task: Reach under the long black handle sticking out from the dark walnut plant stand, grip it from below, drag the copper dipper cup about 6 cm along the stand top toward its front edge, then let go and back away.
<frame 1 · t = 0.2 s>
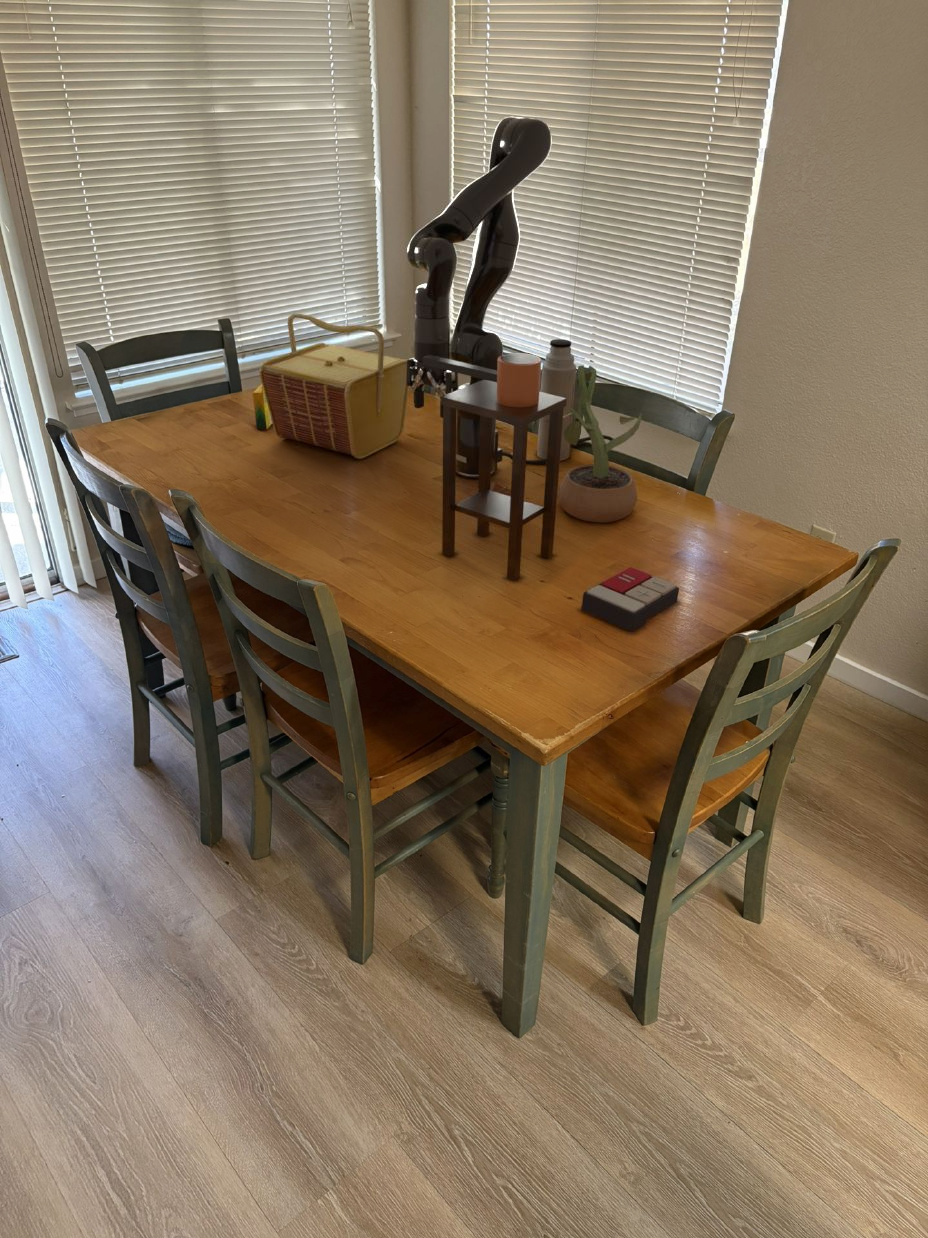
hand: (431, 412, 204), 18 cm above the table, tool pointing down, fingers open, 8 cm apart
fruit slice: (504, 508, 204), on the table
potted plant: (587, 505, 206), on the table
crayon box: (266, 425, 246), on the table
calculator: (629, 607, 169), on the table
plant stand: (497, 555, 185), on the table
thermos bottle: (553, 455, 231), on the table
picnic basket: (340, 441, 237), on the table
dipper cup: (517, 400, 167), point 32 cm above the table, touching plant stand
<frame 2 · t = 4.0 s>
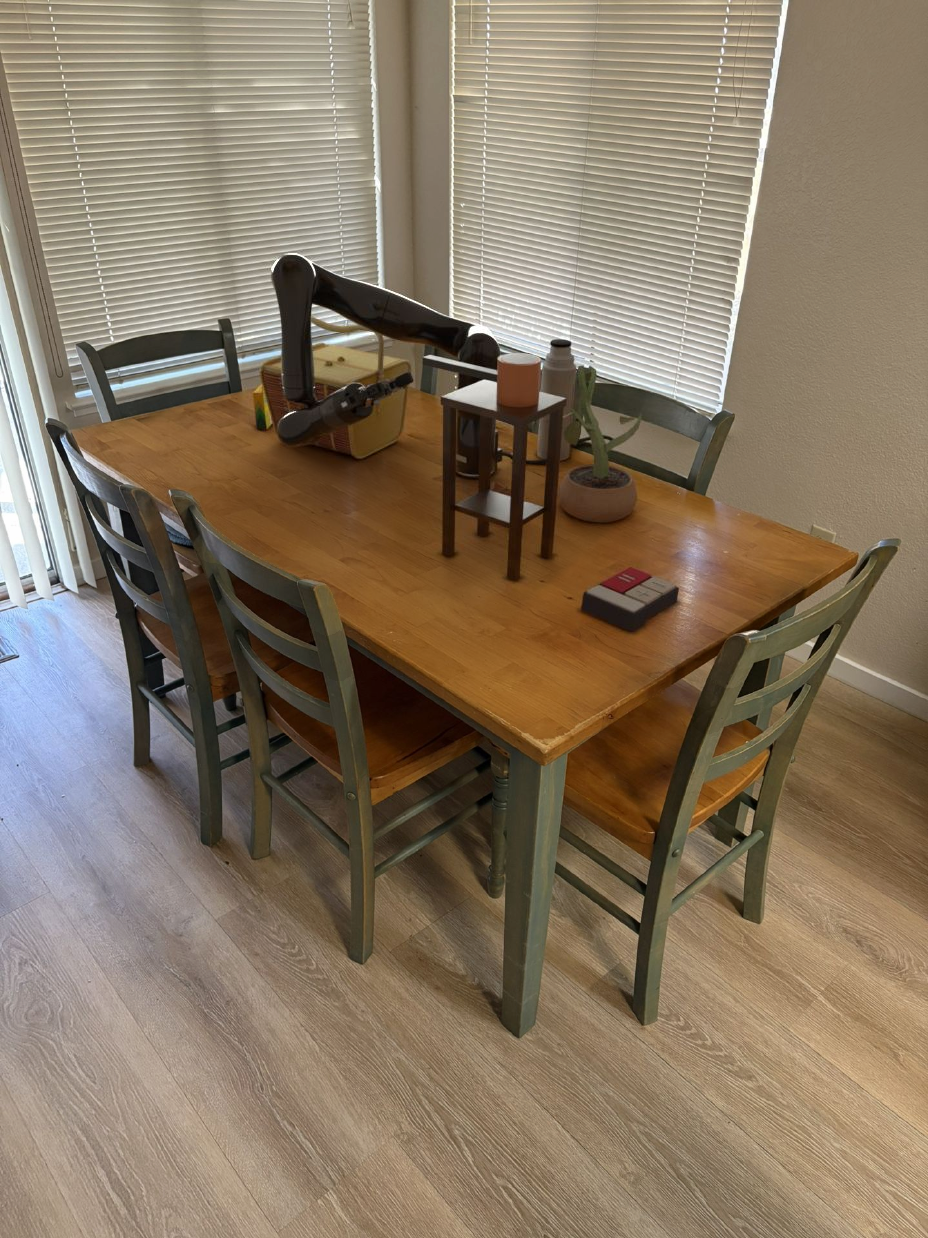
hand: (396, 381, 182), 30 cm above the table, tool pointing upward, fingers open, 8 cm apart
nothing on the table moved.
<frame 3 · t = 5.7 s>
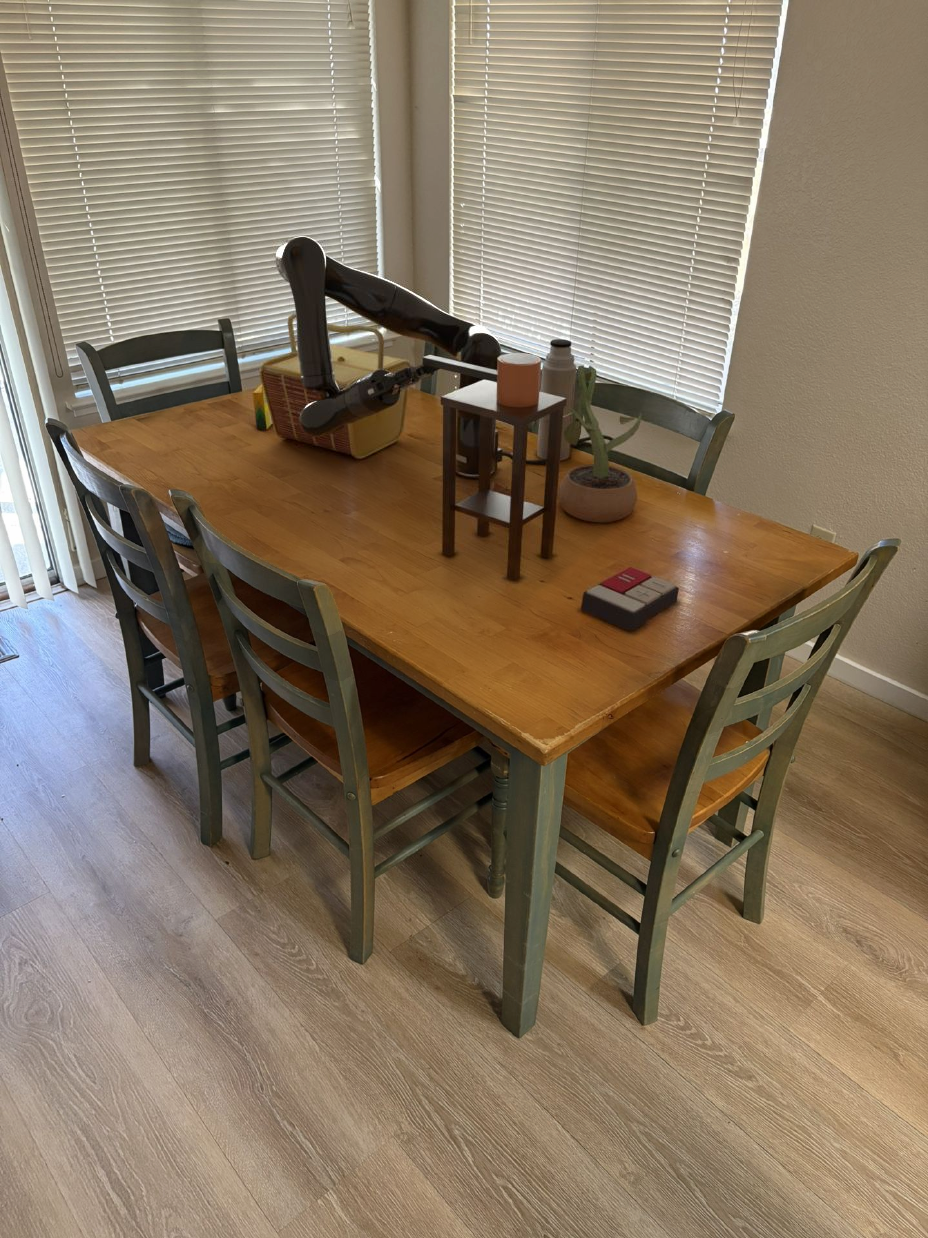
hand: (425, 367, 176), 34 cm above the table, tool pointing upward, fingers open, 8 cm apart
nothing on the table moved.
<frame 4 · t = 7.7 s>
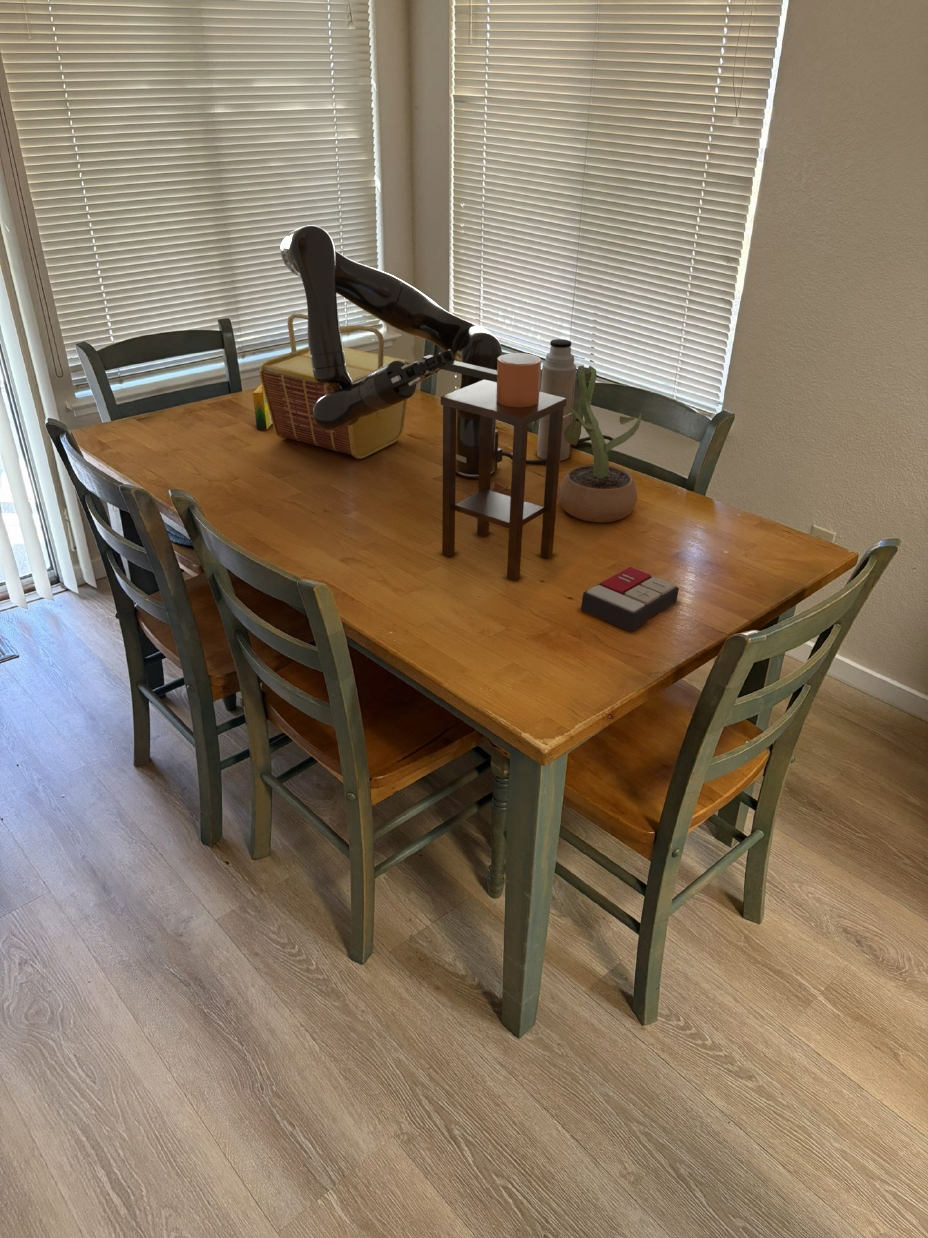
hand: (447, 356, 172), 37 cm above the table, tool pointing upward, fingers closed on dipper cup
dipper cup: (517, 400, 167), point 32 cm above the table, touching gripper, plant stand
everything else where it was.
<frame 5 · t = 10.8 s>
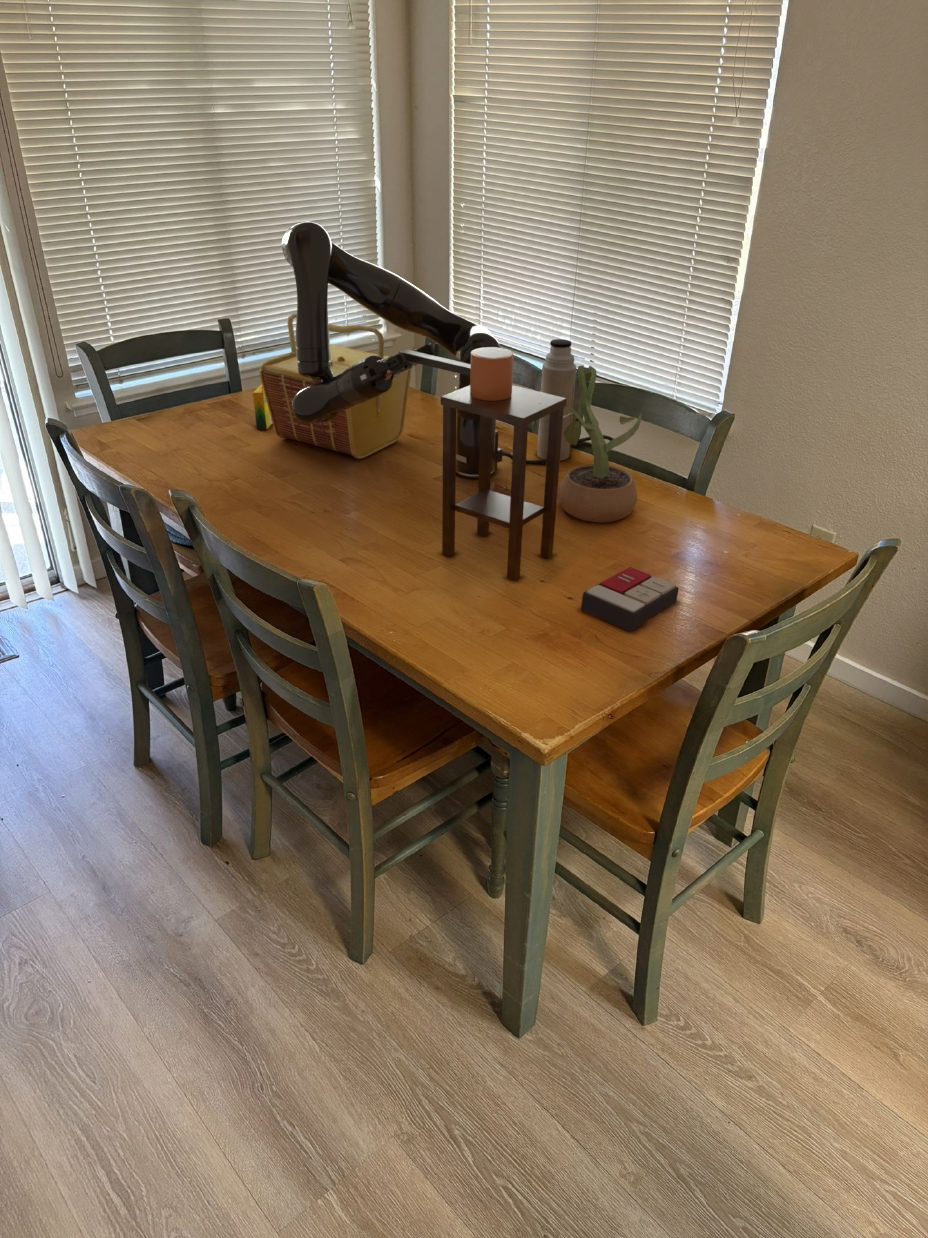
hand: (418, 352, 176), 36 cm above the table, tool pointing upward, fingers open, 8 cm apart
dipper cup: (490, 394, 170), point 32 cm above the table, touching plant stand
everything else where it was.
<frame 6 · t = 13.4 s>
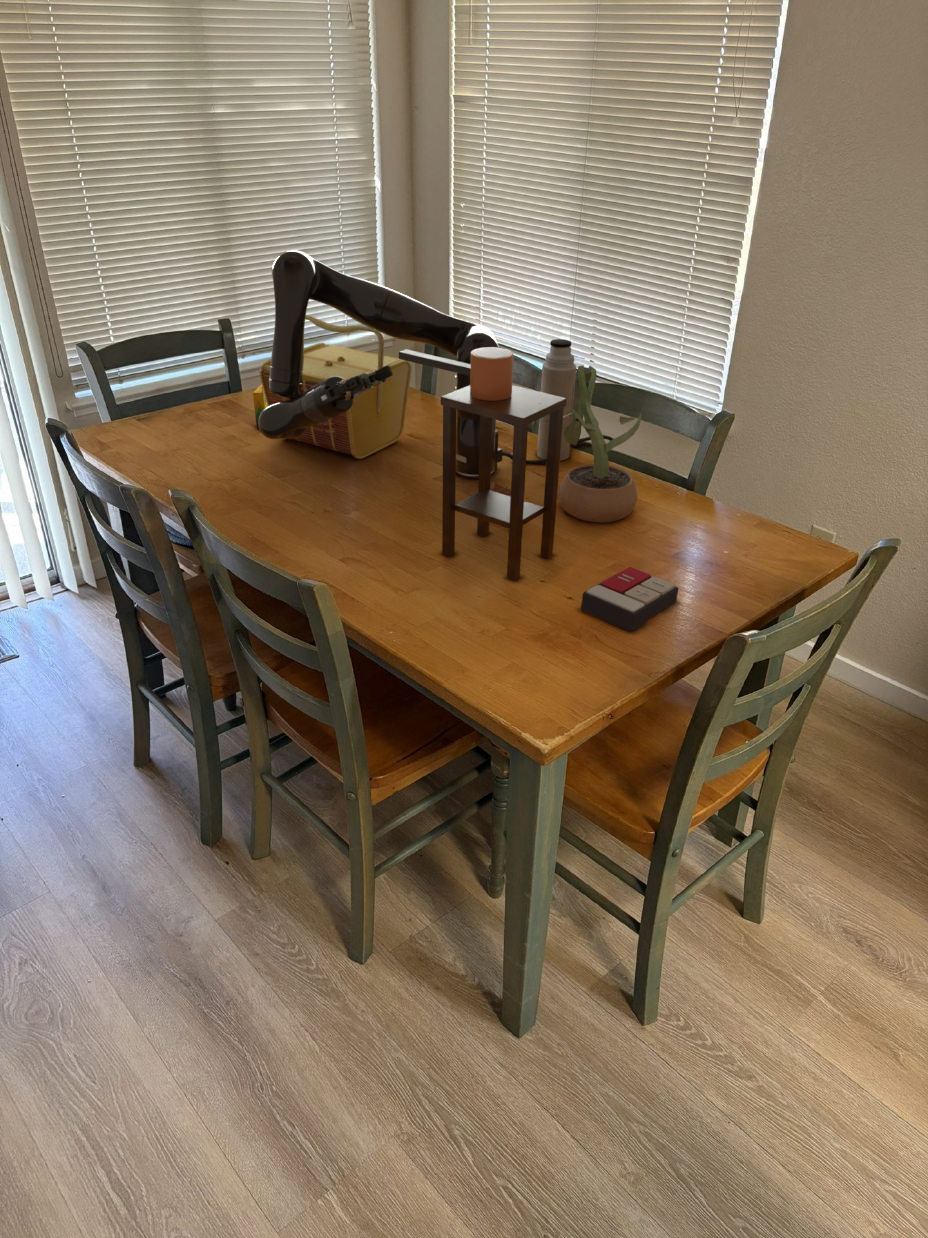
hand: (376, 374, 185), 30 cm above the table, tool pointing upward, fingers open, 8 cm apart
nothing on the table moved.
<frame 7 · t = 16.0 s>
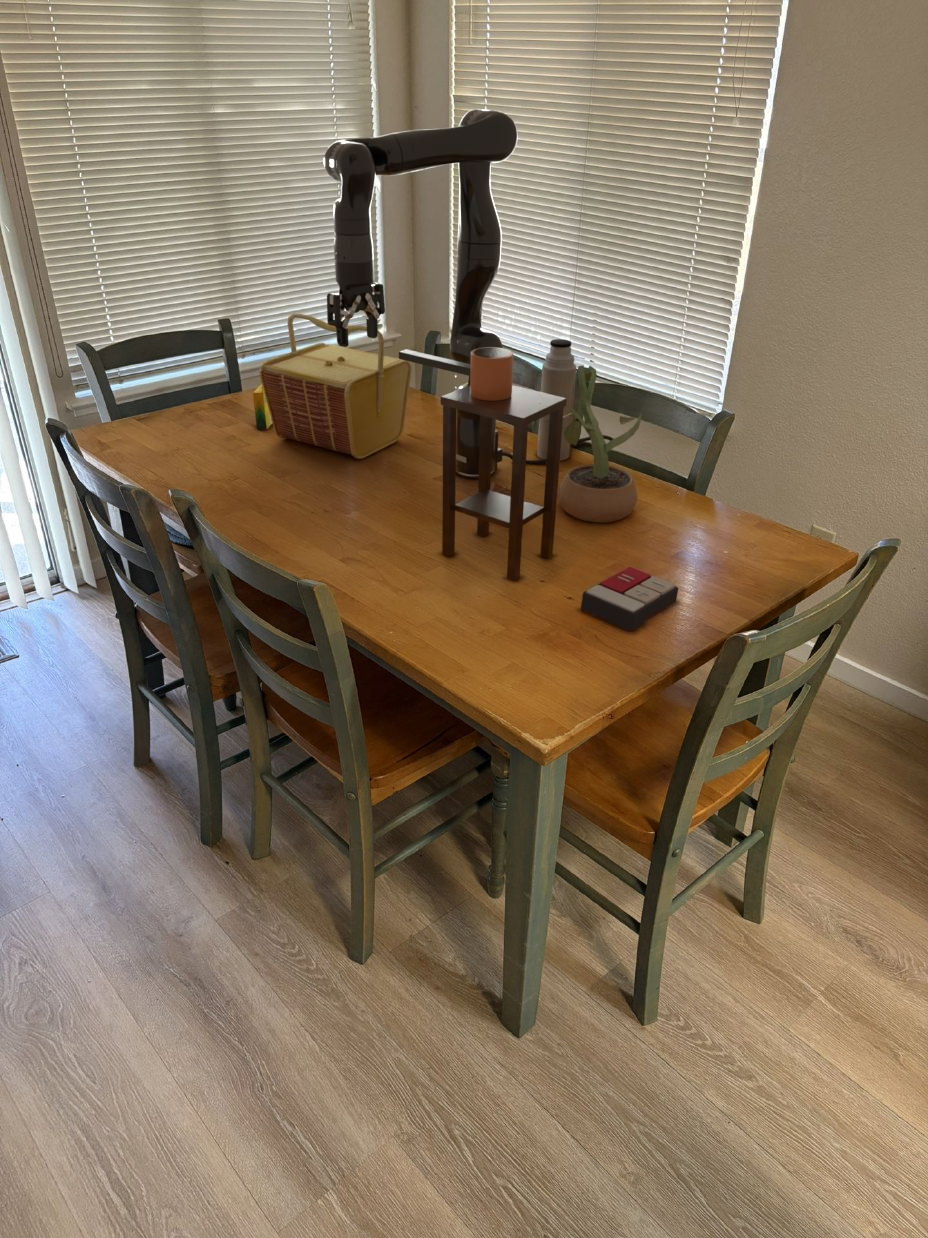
hand: (358, 341, 189), 35 cm above the table, tool pointing down, fingers open, 8 cm apart
nothing on the table moved.
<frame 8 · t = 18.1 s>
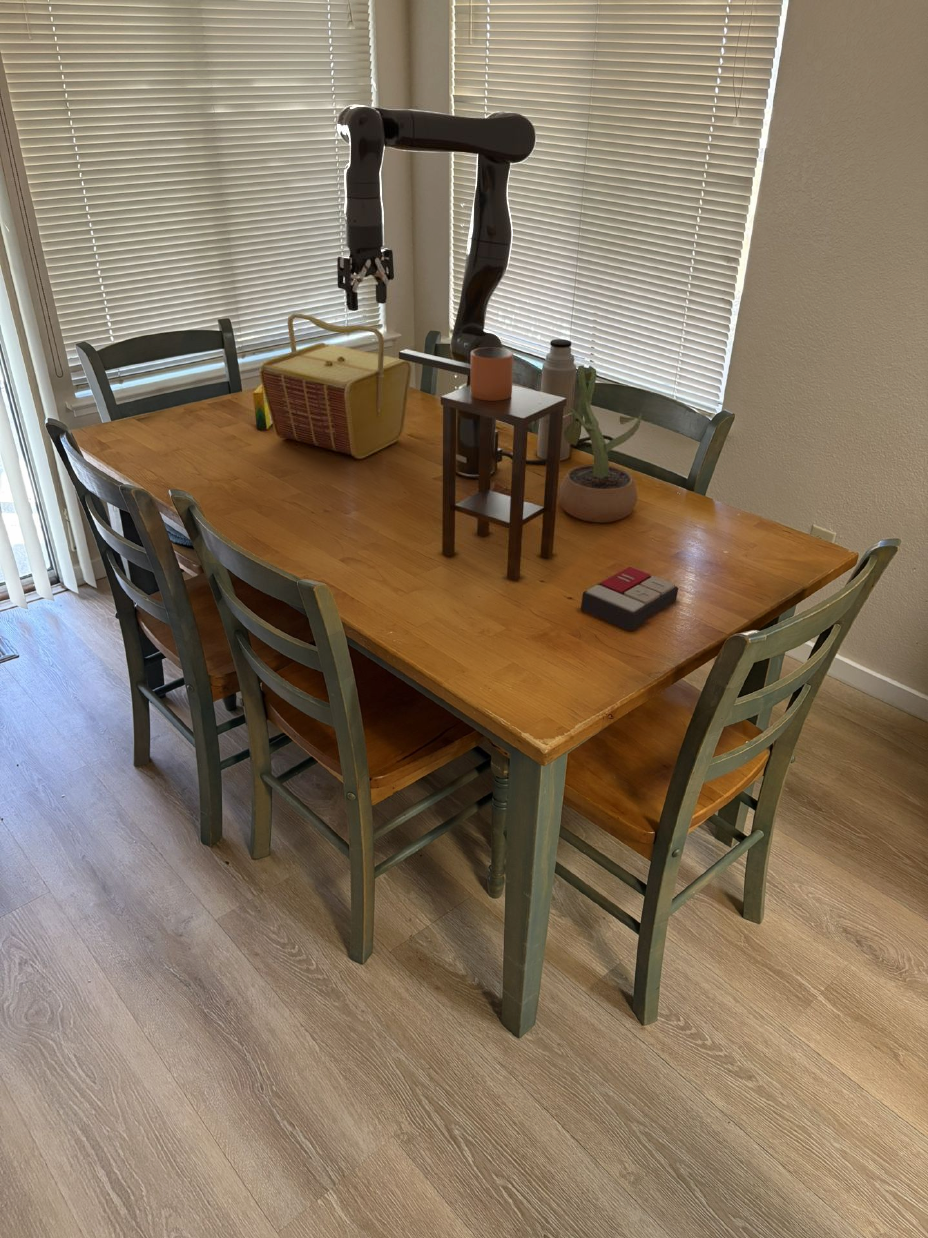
hand: (367, 306, 191), 40 cm above the table, tool pointing down, fingers open, 8 cm apart
nothing on the table moved.
at the end: dipper cup 0.0 cm from the target spot on the plant stand, point 32.0 cm above the plant stand's base; dipper cup tilted 0°; the gripper is holding nothing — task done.
